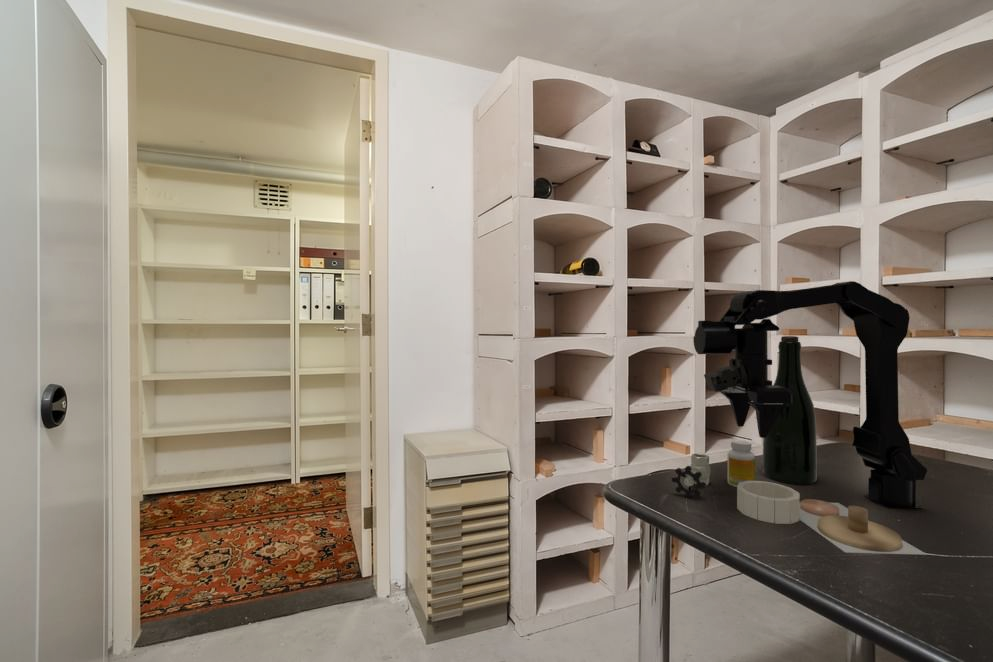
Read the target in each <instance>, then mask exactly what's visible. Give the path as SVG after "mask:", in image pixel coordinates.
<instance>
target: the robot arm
mask: <svg viewBox="0 0 993 662" xmlns="http://www.w3.org/2000/svg"><path fill="white" fill-rule="evenodd" d="M829 304H830V305H831V304H837V306H838V307H839V309H840V310H841V312H842V313H843V314H844V315H845V316H846V317H847V318H849V319H850V320H852V321H853V324H854V330H855V335H856V337H857V338H858V339H859V341H860V343H861V345H862V346H863V349H864V360H865V361H864V362H865V363H864V364H865V365H864V366H865V367H864V370H865V371H864V372H865V373H864V374H865V420H864V421H863V423H862V425H860V426H853V429H852V432H853V441H852V446H853V447H855V450H856V454H857V455H859V456H860V457H861V460H862V462H863V465H864V466H865V467H868V468H871V469H870V477H868V487H867V488H868V493H867V494H866V493H865V494H864V497H865V498H867V499H870V500H871V501H873V502H875V503H877V504H879V505H881V506H882V507H885V508H887V509H893V510H895V509H896V510H897V509H899V510H900V509H901V510H923V509H924V507H923V506H921V505H920V504H917V481H923V480H925V478H926V474H927V472H928V469H927V468H926V467H925V466H924V465H923V464H922V463H921V462H920V461H919V460H918V459H916V457H914V456H913V452H912V447H911V444H910V439H909V437H908V435H907V433H906V431H905V430H904V429H903V427H902V425H901V423H900V419H899V418H900V417H899V412H900V411H899V366H898V365H899V361H898V359H899V358H898V356H899V355H898V354H899V353H898V350H899V347H900V346H901V344H903V341H904V340H905V338H906V337H907V335H908V331H909V325H910V312H909V311H908V309H907V308H905V306H903V305H901V304H900V303H898V302H897V303H896V302H893V300H891V299H889V298H888V297H886V296H883V295H881V294H880V293H877V292H874V291H872V290H870V289H868V288H866V287H865V286H864V285H863V284H862V283H859V282H857V281H853V280H852V281H851V280H849V281H842V282H836V283H834V284H833V283H832V284H831V285H824V286H816V287H814V286H813V287H808V288H801V289H793V290H787V291H786V290H785V291H782V290H781V291H780V290H770V289H769V290H768V289H767V290H766V289H765V290H764V289H762V290H761V289H757V290H756V289H755V290H748V291H741V292H738V293H735V295H733V297H732V298H731V301H730V305H729V308H728V309H727V310H726V312H725V313H724V314H723V315H722V317H721V318H720V320H718V321H713V320H698V321H697V324H698V325H697V327H696V329H695V333H694V336H693V347H694V350H695V352H696V354H698V355H729V354H731V353H732V351H733V350H734V357H730V359H729V363H728V364H729V365H728V366H725V367H720V368H717V369H715V370H712V371H710V372H706V373H705V374H704V375H703V377H704V379H705V381H706V382H705V383H706V384H707V387H708V390H712V391H714V392H716V393H718V392H719V393H721V395H723V396H724V397H725V398H727V400H728V402H729V404H730V407H731V410H732V413H733V416H734V419H735V422H736V423H735V424H736V425H737V427H739V428H740V427H741V428H742V427H744V426H745V423H746V421H747V417H748V414H749V411H750V408H751V407H752V409H754V410H755V416H756V417H755V418H756V424H757V431H758V436H759V438H761V439H763V438H766V437H767V435H768V434H769V432H770V430H771V428H772V427H773V425H774V423H775V422H776V420H777V418H778V417H779V415H780V414H781V412H782V411H783V409H784V408H785V407H788V404H791V403H792V392H791V391H790V390H789V389H788V388H786V387H782V386H778V385H774V384H773V380H770V379H768V376H769V375H768V372H769V370H768V366H772V365H773V359H769V358H768V332H775V331H776V332H777V331H779V330H780V327H779V326H777V325H776V324H775V323H774V322H773V320H771V319H770V317H774V316H776V315H779V314H781V313H783V312H787V311H789V310H794V309H795V310H796V309H802V308H809V307H816V306H822V305H823V306H825V305H829ZM757 320H759V321H760V320H761V321H760V322H754V321H757ZM736 326H742V327H741V328H737V327H736Z"/></svg>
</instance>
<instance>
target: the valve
mask: <svg viewBox="0 0 993 662" xmlns="http://www.w3.org/2000/svg"><path fill="white" fill-rule="evenodd" d="M690 458H691V459H690V461H691V464H690V465H687V466H685V467H684V471H682V468H681V467H677V468H676V469H675V473H676V474H677V477H676V475H674V476H672V477H671V478H670V479H671V482H672V483H676V484H677V486H676V487H675V488H674V489H675V493H681V492H682V491H683V493H685V494H684V496H685V497H684V498H686V499H690V498H691V497H692V496H693V495H692V494H694V496H695V497H697V498H700V497H701V496H702V494H703V493H702V491H701V490H700V488H701V489H704V488H705V487H707V486H708V485H709V484H710V476H711V467H710V455H708V454H705V453H697V452H696V453H692V454H691V456H690ZM682 478H684V480H683V484H684V485H685V486H687V487H688V488H685V487H684V486H683V484H682V482H681V479H682ZM694 485H696V486H695V488H694V489H693V486H694Z"/></svg>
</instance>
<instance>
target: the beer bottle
mask: <svg viewBox="0 0 993 662" xmlns="http://www.w3.org/2000/svg"><path fill="white" fill-rule="evenodd" d="M777 348H778V364H777V366H778V367H777V373H776V377H775V380H774V383H773V385H778V386H782V387H786V388H788V389H789V390H790V391H791V392H792V403H791V404H788V407H785V408H784V409H783V411H782V412H781V414H780V415H779V417H778V418H777V420H776V422H775V423H774V425H773V427H772V428H771V430H770V432H769V434H768V435H767V437H766V438H762V439H763V440H762V441H763V443H762V473H763V475H764V476H765V477H767V478H768V479H771V480H773V481H776V482H779V483H785V484H789V485H799V486H804V485H805V486H809V485H812V484H815V483H816V482H817V477H818V476H817V475H818V466H817V465H818V464H817V463H818V462H817V461H818V459H817V457H818V455H817V454H818V453H817V446H818V445H817V420H816V418H817V417H816V410H815V407H814V402H813V400H812V397H811V395H810V393H809V391H808V388H807V386H806V384H805V380H804V376H803V371H802V362H801V361H802V357H801V353H802V352H801V351H802V344H801V342H800V341H799V336H796V335H795V336H794V335H785V336H781V338H780V341H779V342H778V347H777Z"/></svg>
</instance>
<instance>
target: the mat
mask: <svg viewBox="0 0 993 662" xmlns="http://www.w3.org/2000/svg"><path fill="white" fill-rule="evenodd" d="M800 502H801V501H800ZM800 502H799V521H801V522H802V523H803V524H804V525H806V526H808V527H809V528H811V529H812V530H814V532H816V533H817V534H819V535H820V536H822V537H823V538H824V539H826V540H827V541H828V542H830V543H831V544H833V545H834V546H835V547H837V548H838V549H840V550H841V551H842V552H844V553H846V554H871V555H873V554H874V555H876V554H879V555H912V556H913V555H918V556H919V555H920V556H928V554H927V553H926V552H924V551H922V550H920V549H919V548H917V547H916V546H913V545H911V544H910V543H908V542H907V541H905V540H903V539H902V547H901V548H900V549H899V550H896V551H891V552H879V551H870V550H865V549H860V548H855V547H852V546H848V545H845V544H842V543H840V542H837V541H835V540H833V539H831V538H829V537H827V536H825V535H824V534H822V533H821V532H820V531H819V529H818V519H819V518H821V517H822V516H817V515H813V514H810V513H807V512H805V511H804V510H802V509H801V507H800ZM830 503H831V504H834V505H836V506H837V507H838V508H839V516H848V507H846V506H844V505H843V504H842V503H839V502H830ZM868 521H870V520H869V519H868Z"/></svg>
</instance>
